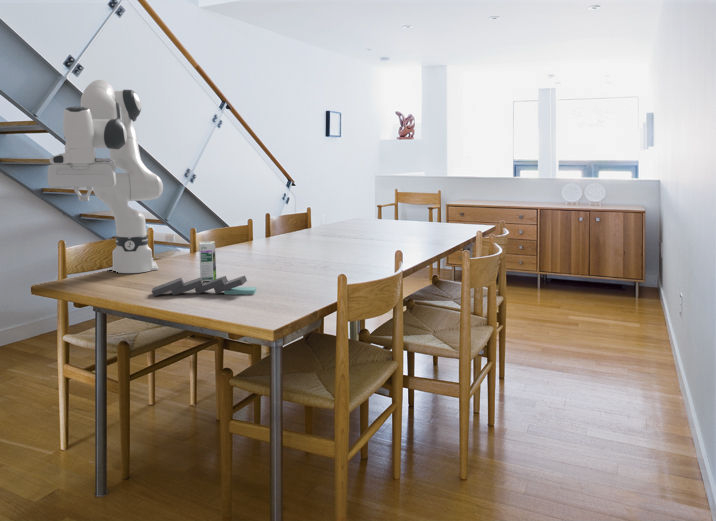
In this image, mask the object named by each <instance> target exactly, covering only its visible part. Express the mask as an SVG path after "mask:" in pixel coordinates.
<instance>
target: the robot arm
mask: <svg viewBox="0 0 716 521" xmlns="http://www.w3.org/2000/svg"><path fill="white" fill-rule="evenodd" d="M141 111H142V103H141V99H140V97H139V96H138V93H136V92H135V91H134V90H132V89H122V90H116V91H115V89H114V87H113V86H112V84H110V83H109V81H106V80H104V79H103V80H102V79H96V80H93V81H92V82H90V83H89V84H88V85H87V86H86V88H85V89H84V90H83V93H82V94H81V97H80V106H69V107H66V108H64V110H63V120H62V121H63V122H62V124H63V126H62V127H63V137H64V140H65V145H64V152H63V153H59V154H56V155H53V156H50V157H49V159H48V160H49V163H50V165H49V166H48V168H47V184H48V185H49V187H51V188H73V191H74V193H75V194H76V195H77V196H78V202H90V195H91V193H92V191H93V194H94V195H95V197H96V198H97V199H98V200H99V201H101V202H103V203H104V204H105V205H106V206H107V207H108V208H109V209H110V210H111V212H112V215H113V217H114V218H113V219H114V222H115V231H116V236H115V245H116V247H115V248H114V249H113V250H112V266H111V267H109V268H108V271H109V270H114V271H116V272H115V273H117V272H118V273H119V274H139V273H145V272H150V271H158V270H159V266H158V264H157V262H156V261H155V258H154V257H153V251H152V249H151V247H149V245H148V244H149V237H148V234H147V224H146V223H147V222H146V216H145V215H144V214H143V213H142V212H140V211H139V210H137V209H136V208H135V209H134V208H132V207H130V206H129V204H128V202H135V201H136V202H137V201H139V202H141V201H151V200H156V199H159V198H160V197H161V196H162V194H163V191H164V184H163V181H162V179H161V177H160V176H158V175H157V173H156V174H155V173H154V172H153V171H151V170H150V169H148V168H147V166H146V165H145V164H144V162H143V160H142V158H141V154H140V148H139V140H138V136H137V135H138V134H137V131H136V129H135V126H134V123H133V122H136V121H137V118H138V117H139V116H140V113H141ZM96 149H109V158H108V157H106V158H101V157H97V156H96ZM117 169H119V170H121V171H124V172H116V170H117ZM81 188H85V189H86V191H87V192H86V194H85V195H82V193H81Z"/></svg>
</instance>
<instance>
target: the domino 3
mask: <svg viewBox="0 0 716 521" xmlns="http://www.w3.org/2000/svg"><path fill="white" fill-rule="evenodd" d="M227 281H229V279H228V278H227V275H223V276H221V277H218V278H216V279H215V280H212V281H209V282H205V283H204V282H203V286H201V287H198V288H195V289H194V290H195V293H196V295H199V294H202V293H204V292H208V291H210V290H214V288H216V287H219V286H221V285H224V284H225V283H226V282H227Z"/></svg>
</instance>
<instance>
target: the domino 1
mask: <svg viewBox="0 0 716 521" xmlns="http://www.w3.org/2000/svg"><path fill="white" fill-rule="evenodd" d="M184 283H185V282H184V280H183V277H179V278H176V279H174V280H170V281H168V282H165V283H163V284H160V285H158V286H157V285H156V286H155V287H152V289H151V293H152V295H153V296H152V297H158V296H161V295H162V294H165V293H168V292H170V291H171V290H174V289H176V288H179V287H182V286H183V285H184ZM171 292H172V291H171Z"/></svg>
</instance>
